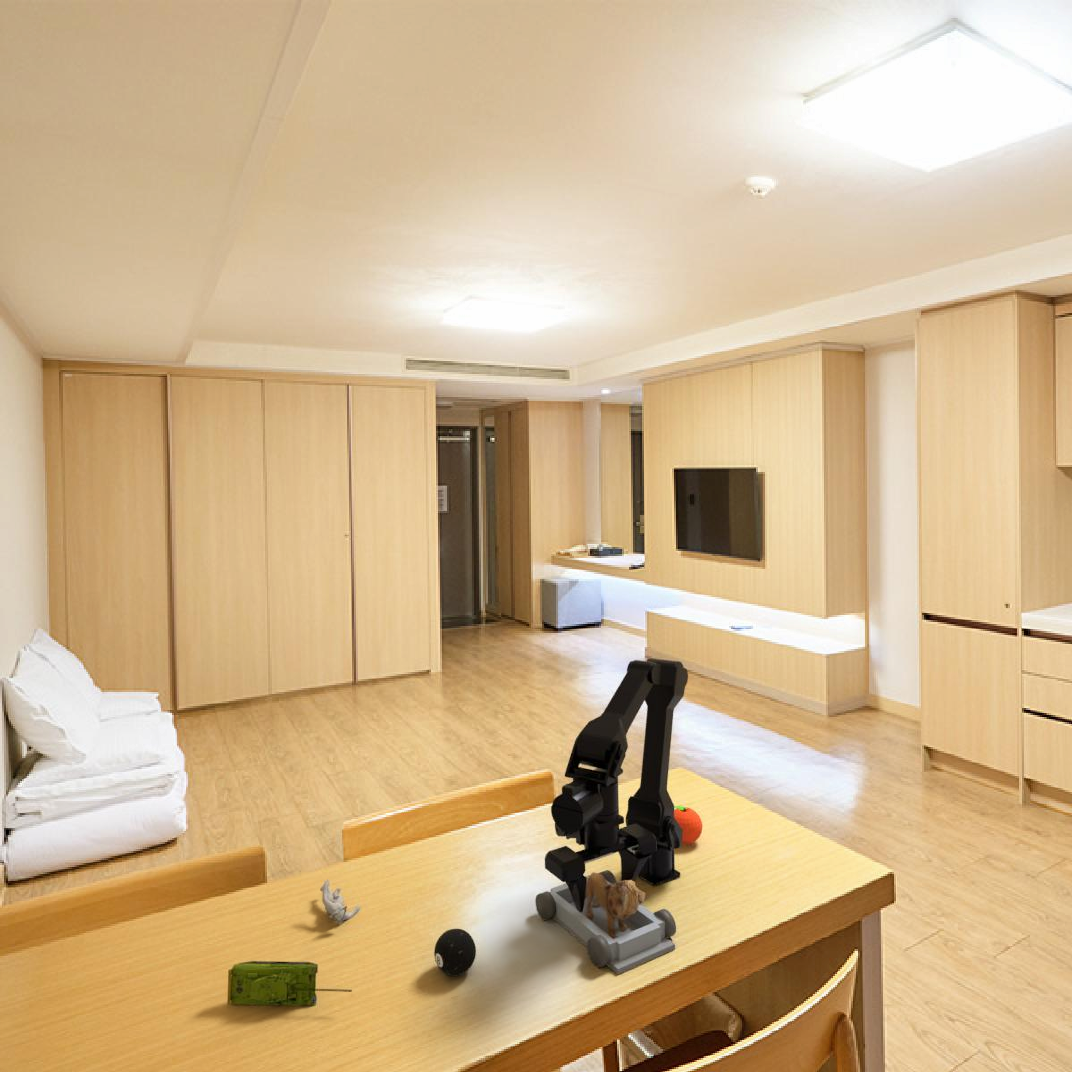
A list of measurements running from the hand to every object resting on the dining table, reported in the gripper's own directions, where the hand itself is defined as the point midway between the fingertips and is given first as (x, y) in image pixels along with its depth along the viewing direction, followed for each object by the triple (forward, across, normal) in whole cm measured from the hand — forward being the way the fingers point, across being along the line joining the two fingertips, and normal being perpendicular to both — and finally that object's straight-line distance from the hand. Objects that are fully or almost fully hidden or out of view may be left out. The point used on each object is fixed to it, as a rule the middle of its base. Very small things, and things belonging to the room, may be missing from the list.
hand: (603, 902), depth 122 cm
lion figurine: (+3, -1, +1) cm, 4 cm away
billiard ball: (+4, +25, -3) cm, 26 cm away
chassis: (+4, 0, 0) cm, 4 cm away
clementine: (+4, -31, -15) cm, 35 cm away
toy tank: (+4, +48, -8) cm, 49 cm away
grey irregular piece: (+4, +35, -29) cm, 46 cm away
